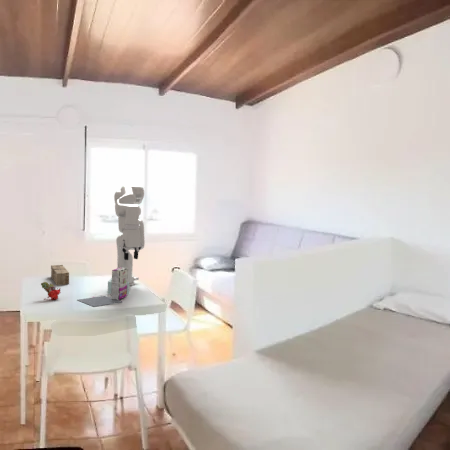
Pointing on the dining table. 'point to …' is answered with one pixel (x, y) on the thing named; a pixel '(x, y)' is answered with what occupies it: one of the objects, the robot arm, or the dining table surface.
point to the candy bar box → (119, 283)
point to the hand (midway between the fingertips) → (131, 259)
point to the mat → (99, 301)
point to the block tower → (59, 274)
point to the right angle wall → (111, 286)
